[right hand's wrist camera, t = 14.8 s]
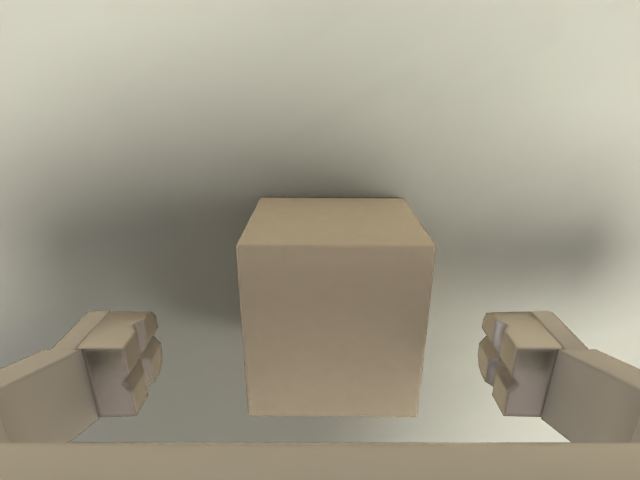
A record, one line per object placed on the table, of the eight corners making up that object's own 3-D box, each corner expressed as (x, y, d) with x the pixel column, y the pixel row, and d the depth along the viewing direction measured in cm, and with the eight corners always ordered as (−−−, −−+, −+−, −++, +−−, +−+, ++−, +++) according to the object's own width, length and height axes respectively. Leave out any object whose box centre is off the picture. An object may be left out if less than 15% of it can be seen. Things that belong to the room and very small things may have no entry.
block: (404, 197, 14) (437, 246, 10) (393, 332, 16) (417, 418, 12) (259, 197, 14) (235, 245, 10) (266, 331, 16) (248, 417, 12)
